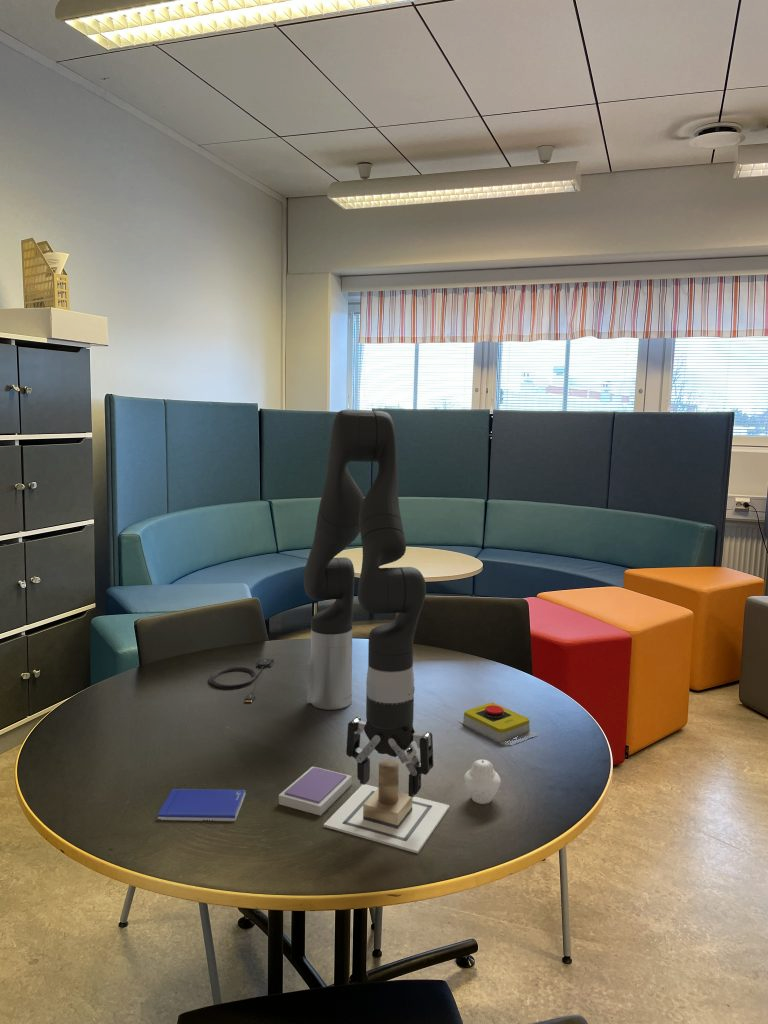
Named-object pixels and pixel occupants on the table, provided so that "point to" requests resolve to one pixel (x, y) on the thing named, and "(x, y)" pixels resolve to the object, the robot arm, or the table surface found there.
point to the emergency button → (497, 723)
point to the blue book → (202, 805)
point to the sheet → (405, 837)
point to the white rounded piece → (482, 781)
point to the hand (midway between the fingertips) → (388, 788)
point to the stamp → (388, 798)
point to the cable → (262, 664)
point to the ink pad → (315, 790)
